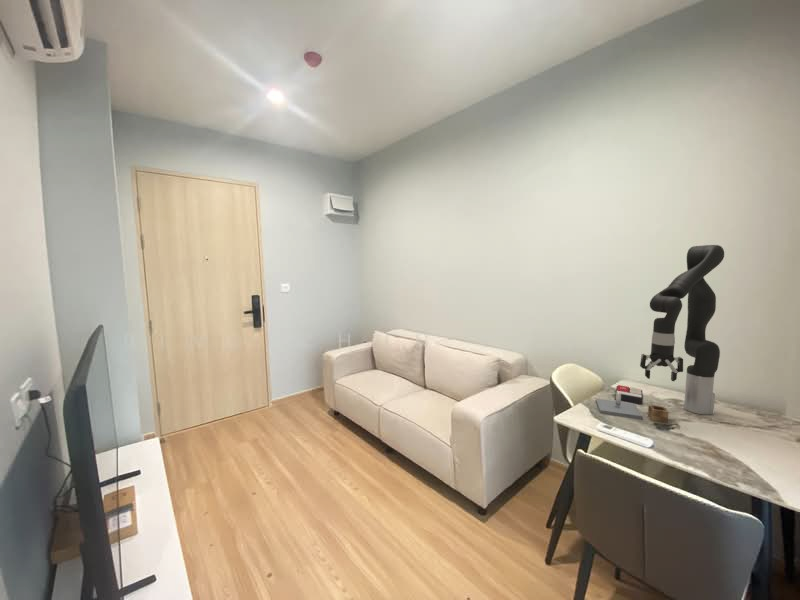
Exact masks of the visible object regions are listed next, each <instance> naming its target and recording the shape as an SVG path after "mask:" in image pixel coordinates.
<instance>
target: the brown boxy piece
mask: <svg viewBox="0 0 800 600" xmlns="http://www.w3.org/2000/svg"><path fill="white" fill-rule="evenodd" d="M647 407H648V409H647V410H648V411H647V416H648V418H649V420H650V421H651V422H657V423H664V424H668V423H669V413H670V412H669V411H668V409H667V408H666V407H665V406H662V405H655V404H648V406H647Z"/></svg>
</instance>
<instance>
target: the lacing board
mask: <svg viewBox="0 0 800 600" xmlns="http://www.w3.org/2000/svg"><path fill="white" fill-rule="evenodd" d="M596 403H597V404H596ZM615 403H616V400H611V399H609V400H608V399H605V398H604V399H603V398H595V404H596V407H597V409H598V411H599V412H598V413H599V414H603V415H609V416H616V417H623V418H630V419H635V420H636V419H637V420H643V419H644V416H643V414H642V412H641V411H640V409H639V408H638V406H637V404H634V403H629V402H624V401H621V405H620V406H618V405H615Z"/></svg>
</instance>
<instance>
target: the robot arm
mask: <svg viewBox="0 0 800 600" xmlns="http://www.w3.org/2000/svg"><path fill="white" fill-rule="evenodd" d="M724 250H725V249H724V247H722V246H721V245H719V244H708V245H707V244H704V245H693V246H691V247H690V248H689V249H688V250H687V253H686V269H687V270H685V271H684V272H682V273H681V274H679V275H677V276H676V277H675V278H674V279H673V280H672V281H671V283H669V284H668V285H667V287H666V288H664V289H662V290H660V291H659V292H657V293H656V294H655V295H653V296H652V298H651V299H650V301H649V308H650V310H651V311H654V312H656V313H664V314H665V316H664V317H656V318H655V319H654V321H653V326H652V327H653V330H652V336H651V347H650V354H645V353H641V356H640V357H641V358H640V362H639V363H640V364H639V366H640V368H641V369H643V370H644V376H645V378H647V379H649V380H650V379H651V369H652V368H654V367H655V366H657V367H664V368H665V367H666V368H667V367H668V368H669V369H670V370H671V372H670V373H671V375H670V380H671V382H675V381H677V378H678V373H683V372H684V359H683V357H681V356H677V357H675V356H674V354H675V353H674V352H675V344H676V342H675V339H676V337H675V329H676V322H677V320H678V317H679V315H680V313H681V311H682V309H683V302H682V300H681V299H684V298H685V297H686V296H687V320H686V321H687V322H686V323H687V324H686V331H685V339H684V347H683V348H684V351H685V353H686V354H687V355H688V356H690V357H692V358H694V363H693V364H691V365H688V366H687V367H686V376H685V389H684V391H685V392H684V402H683V408H684V409H685V410H686V411H688V412H690V413H695V414H699V415H707V416H708V415H714V408H715V398H716V395H715V393H714V387H715V386H714V385H715V374H716V372H717V371H718V370H719V369H718V368H719V362H720V357H721V349H720V346H719V345H718V344H717V343H716V342H714V341H711V340H707V338H706V330H707V326H708V324H709V322H710V320H711V319H712V318H713V317H714V315H715V313H716V309H717V296H716V294H715V292H714V290H713V289H712V288H711V286H710V285H709V283H708V282H707V281H706V280H705V276H707V275H709V273H710V272H712V271H713V270H714V269H716V268H717V267H718V266H719V265H720V264H721V263H722V261H724V257H725V251H724ZM649 359H650V360H651V361H649V362H648V363H647V364H646V362H647V361H648V360H649ZM673 362H675V363H677V364H676V365H677V367H676V368H675V366H674V365H673V364H672V363H673Z"/></svg>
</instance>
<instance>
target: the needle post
mask: <svg viewBox="0 0 800 600" xmlns="http://www.w3.org/2000/svg"><path fill="white" fill-rule="evenodd" d="M615 393H616V392H615ZM615 401H616V403H615V405H618V406H620V405H621V402H622V401H621V393H619V392H617V393H616V400H615Z"/></svg>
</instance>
